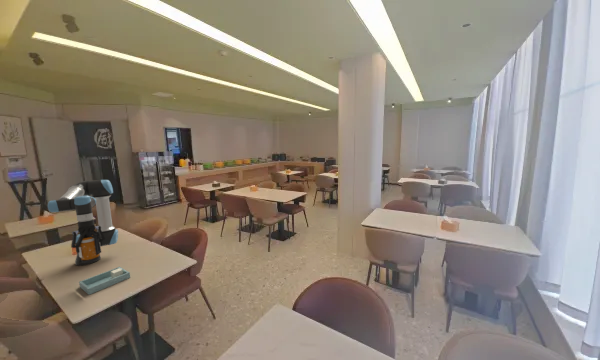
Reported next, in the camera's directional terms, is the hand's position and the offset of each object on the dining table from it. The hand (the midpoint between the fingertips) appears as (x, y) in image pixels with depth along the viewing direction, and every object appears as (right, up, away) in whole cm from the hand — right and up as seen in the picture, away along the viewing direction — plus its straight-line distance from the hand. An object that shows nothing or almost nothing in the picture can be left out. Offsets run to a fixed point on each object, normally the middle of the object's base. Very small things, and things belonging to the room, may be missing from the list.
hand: (90, 254), depth 150 cm
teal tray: (+7, -21, +4) cm, 22 cm away
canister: (0, -5, +1) cm, 5 cm away
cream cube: (+10, -19, +10) cm, 24 cm away
